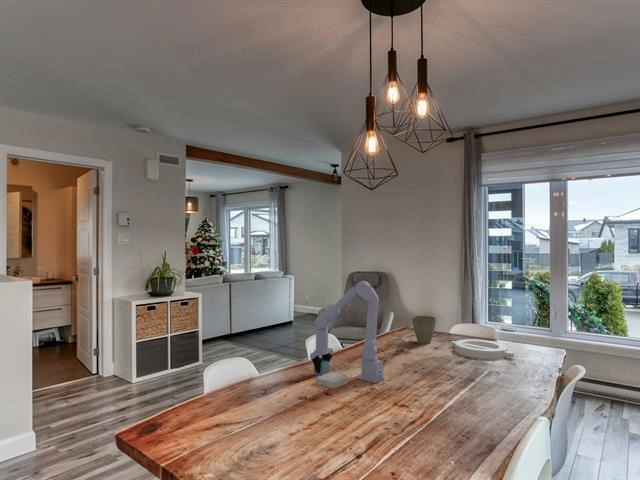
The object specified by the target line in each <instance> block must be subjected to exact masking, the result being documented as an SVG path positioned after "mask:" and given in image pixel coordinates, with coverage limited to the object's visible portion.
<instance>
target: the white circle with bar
mask: <svg viewBox="0 0 640 480" xmlns="http://www.w3.org/2000/svg"><path fill="white" fill-rule="evenodd" d="M450 347H454V351H455V353H456V354H459V355H461V356H464V357H468V358H471V359H480V360H502V358H503V359H505V357H506V358H509V359H513V358H515V352H513V351H508V346H507V345H505V344H503V343H500V342H497V341H492V340H491V341H490V340H485V339H477V338H476V339H474V338H472V339H465V338H464V339H457V340H452V341H450Z"/></svg>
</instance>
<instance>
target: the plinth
mask: <svg viewBox="0 0 640 480" xmlns="http://www.w3.org/2000/svg"><path fill="white" fill-rule="evenodd" d="M348 383H349V376H346V375H342V374H338V373H334V372H330V371H329V373H327V374H324V375H322V376H317V377H315V384H317V385H321V386H324V387H327V388H331V389H337V388H339V387H341V386H344V385H346V384H348Z"/></svg>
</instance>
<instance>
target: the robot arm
mask: <svg viewBox="0 0 640 480" xmlns="http://www.w3.org/2000/svg"><path fill="white" fill-rule="evenodd" d="M358 296H359V297H360V298H363V300H364V301H365V302H366V303H367V315H366V328H365V338H364V346H363V348H362V350H361V356H362V357H361V375H360V376H357V379H358V380H362V381H366V382H370V383H374V384H376V383H378V382H380V381H382V380H384V379H385V377H384V363H383V361H381V360H379V359H378V356H377V352H378V345H377V330H378V329H377V328H378V314H379V304H380V303H379V302H380V301H379V296H378V295H377V293H376V290H375V289H374V286H373V285H372V284H371V283H370V282H368V281H367V280H361V281H359V282H358V283H356V285H354V286H353V287H351V288H349V290H348V291H346V292H345V294H343V295H342V296H341V298H340V299H339V300H338V301H337V302H336V303H330V304H328V305H327V306H326V309H325V310H324V311H323V312H320V316H318V317H316V319H315V321H314V325H315V349H314V351H313V352H312V353H310V354H309V358H310V360H311V362H312V363H313V365H314V366H313V368H314V367H315V371H316V372H317V373H320V369H321V362H322V360H325V361H329V363H330V361H331V359H333V358H332V357H333V353H334V348H332V347H329V325H330V323H332V322H333V321H334V319H336V318H337V317H338V316H339V315H340V313H341V309H342V308H343V307H344V306H345V305H346V304H347V303H348V302H349V301H350V300H351V299H353V298H357V297H358Z"/></svg>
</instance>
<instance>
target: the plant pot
mask: <svg viewBox="0 0 640 480" xmlns="http://www.w3.org/2000/svg"><path fill="white" fill-rule="evenodd" d="M411 320H412V326H413V330H414V334H415V337H416V340H417V343H418V344H420V343H421V344H422V345H430V344H431V342H432V339H433V337H434V336H433V335H434V333H435V329H436V323H437V317H435V316H432V315H431V316H430V315H413V316H412V317H411Z"/></svg>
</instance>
